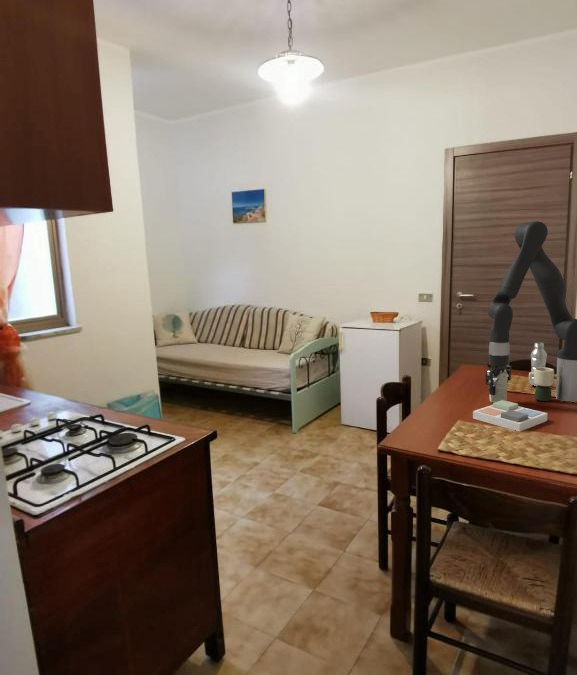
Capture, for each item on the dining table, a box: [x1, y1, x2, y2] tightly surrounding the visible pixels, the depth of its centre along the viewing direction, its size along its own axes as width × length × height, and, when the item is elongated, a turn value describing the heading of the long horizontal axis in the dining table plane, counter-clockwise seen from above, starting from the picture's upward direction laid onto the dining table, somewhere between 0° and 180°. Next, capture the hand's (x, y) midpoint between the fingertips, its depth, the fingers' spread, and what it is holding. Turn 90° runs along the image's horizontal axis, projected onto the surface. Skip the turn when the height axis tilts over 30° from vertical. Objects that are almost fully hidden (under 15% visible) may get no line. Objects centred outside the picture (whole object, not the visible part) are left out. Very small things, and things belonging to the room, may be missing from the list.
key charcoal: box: [501, 410, 528, 422], centre depth 168 cm, size 6×6×2 cm
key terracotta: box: [479, 408, 504, 416], centre depth 176 cm, size 6×6×2 cm
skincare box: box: [488, 372, 508, 403], centre depth 193 cm, size 6×4×12 cm
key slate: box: [517, 408, 542, 417], centre depth 173 cm, size 6×6×2 cm
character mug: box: [528, 367, 559, 402], centre depth 195 cm, size 11×7×13 cm, turn 57°
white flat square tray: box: [472, 404, 548, 433], centre depth 175 cm, size 17×18×3 cm
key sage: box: [492, 400, 519, 411], centre depth 180 cm, size 6×6×2 cm
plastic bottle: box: [528, 341, 548, 386], centre depth 213 cm, size 6×7×20 cm
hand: (498, 393), depth 193 cm, fingers closed on skincare box, 7 cm apart
